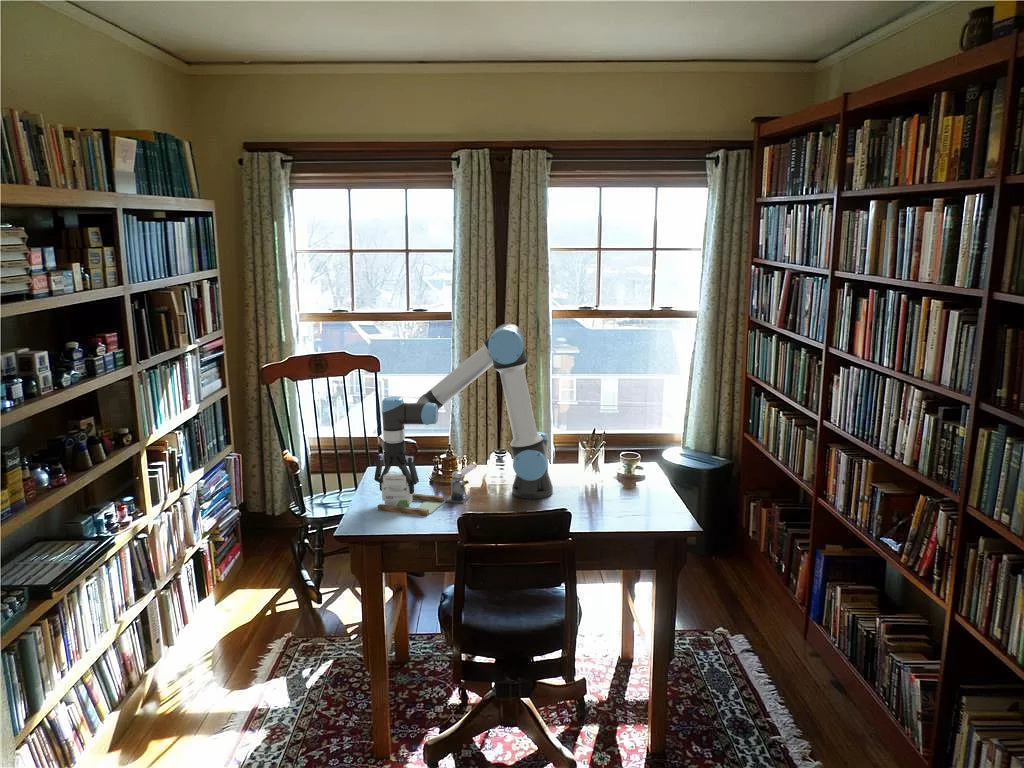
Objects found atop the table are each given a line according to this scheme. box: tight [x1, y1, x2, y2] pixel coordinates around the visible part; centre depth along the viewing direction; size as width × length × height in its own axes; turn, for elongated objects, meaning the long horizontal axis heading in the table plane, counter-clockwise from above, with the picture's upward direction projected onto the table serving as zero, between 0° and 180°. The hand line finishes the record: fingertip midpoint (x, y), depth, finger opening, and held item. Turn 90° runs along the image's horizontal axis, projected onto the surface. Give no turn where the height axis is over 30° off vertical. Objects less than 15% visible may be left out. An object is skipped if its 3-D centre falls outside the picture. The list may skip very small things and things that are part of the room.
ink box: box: [383, 471, 411, 507], centre depth 276 cm, size 9×5×12 cm, turn 85°
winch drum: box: [445, 478, 472, 504], centre depth 280 cm, size 7×7×8 cm
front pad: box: [416, 501, 444, 515], centre depth 273 cm, size 7×11×1 cm, turn 161°
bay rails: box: [377, 492, 445, 517], centre depth 275 cm, size 19×15×2 cm
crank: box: [451, 461, 478, 480], centre depth 285 cm, size 16×4×2 cm, turn 157°
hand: (397, 500), depth 276 cm, fingers closed on ink box, 9 cm apart
